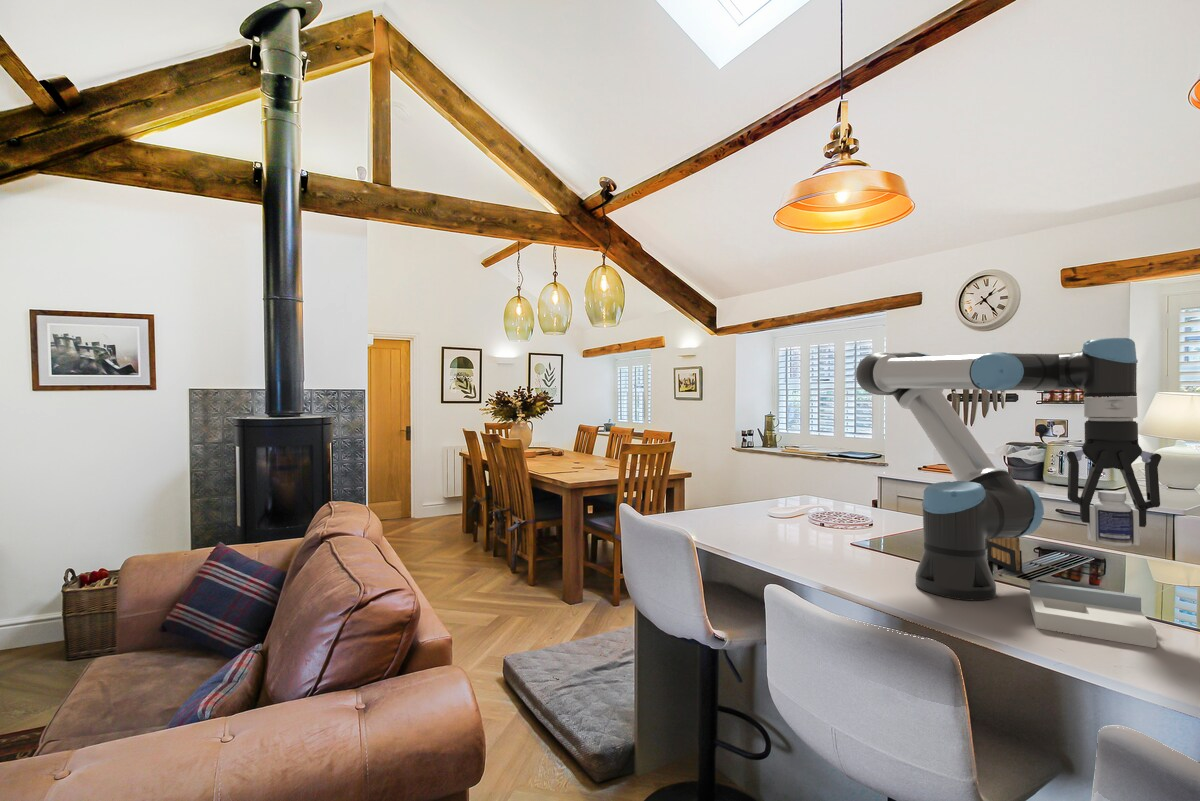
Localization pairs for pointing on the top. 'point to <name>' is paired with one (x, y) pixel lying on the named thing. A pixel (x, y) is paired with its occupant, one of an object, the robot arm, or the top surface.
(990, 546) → the ammunition clip
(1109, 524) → the pill bottle
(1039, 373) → the robot arm
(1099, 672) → the top surface
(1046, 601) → the white slotted tray
